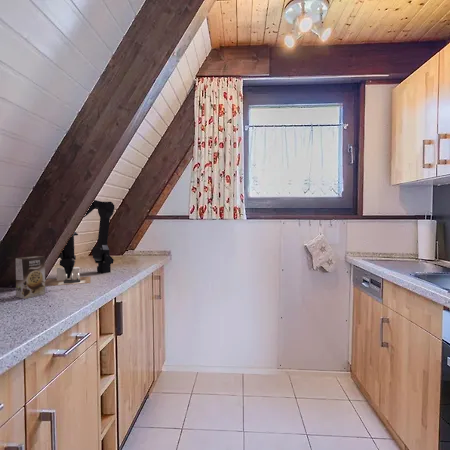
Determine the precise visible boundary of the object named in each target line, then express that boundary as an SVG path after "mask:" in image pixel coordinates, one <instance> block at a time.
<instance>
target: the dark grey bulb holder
mask: <svg viewBox="0 0 450 450" xmlns="http://www.w3.org/2000/svg"><path fill="white" fill-rule="evenodd" d="M77 282H80V279H79V273H77V279H76V280H73V274H71V280H67V274H65V280H64V283H77Z"/></svg>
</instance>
